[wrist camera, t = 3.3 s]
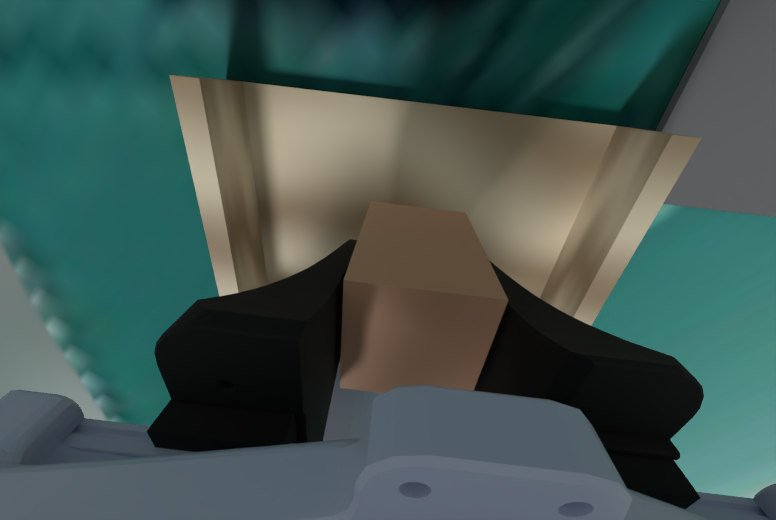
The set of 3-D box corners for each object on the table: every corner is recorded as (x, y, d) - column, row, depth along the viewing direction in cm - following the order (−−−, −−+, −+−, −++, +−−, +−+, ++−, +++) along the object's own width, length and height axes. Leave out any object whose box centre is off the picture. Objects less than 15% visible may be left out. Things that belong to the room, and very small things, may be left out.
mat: (783, 215, 14) (792, 218, 14) (621, 196, 14) (626, 199, 14) (956, 4, 10) (975, 1, 10) (733, -22, 10) (743, -26, 10)
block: (446, 290, 14) (468, 403, 9) (364, 280, 14) (339, 387, 9) (465, 212, 12) (508, 300, 7) (370, 201, 12) (343, 280, 7)
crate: (530, 342, 19) (554, 388, 16) (259, 309, 19) (231, 350, 16) (632, 127, 13) (702, 137, 10) (225, 79, 13) (169, 74, 10)
